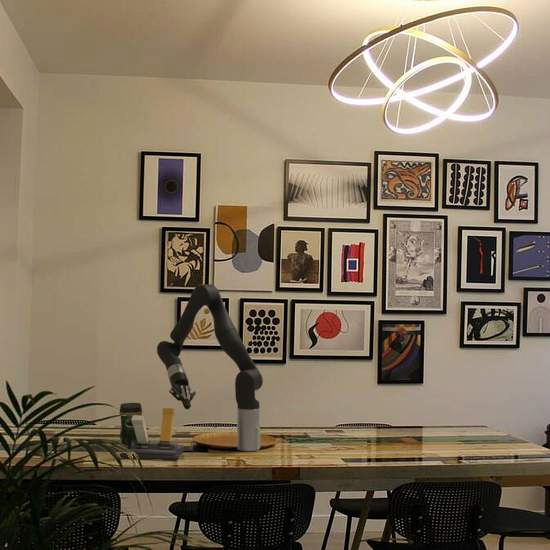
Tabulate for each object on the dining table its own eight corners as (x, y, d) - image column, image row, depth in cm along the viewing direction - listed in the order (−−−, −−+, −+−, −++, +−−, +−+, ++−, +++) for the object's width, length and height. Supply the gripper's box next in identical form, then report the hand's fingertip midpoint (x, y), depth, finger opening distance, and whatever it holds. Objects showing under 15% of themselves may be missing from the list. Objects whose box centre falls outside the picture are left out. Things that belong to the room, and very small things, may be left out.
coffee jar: (141, 444, 334) (141, 401, 334) (142, 448, 326) (143, 403, 327) (118, 445, 332) (119, 401, 332) (119, 449, 324) (119, 404, 324)
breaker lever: (171, 447, 314) (174, 409, 319) (169, 446, 311) (173, 408, 317) (160, 447, 315) (164, 409, 320) (158, 446, 312) (162, 408, 318)
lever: (150, 442, 316) (143, 415, 308) (148, 447, 314) (142, 420, 305) (139, 442, 317) (133, 415, 308) (138, 447, 315) (131, 419, 306)
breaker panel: (183, 452, 318) (183, 440, 318) (175, 458, 307) (175, 446, 307) (136, 450, 321) (136, 438, 321) (126, 456, 310) (127, 444, 310)
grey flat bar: (179, 459, 305) (179, 450, 305) (178, 461, 303) (178, 451, 303) (120, 457, 308) (120, 448, 308) (118, 458, 306) (118, 449, 306)
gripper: (169, 368, 329) (179, 399, 317) (194, 374, 337) (205, 404, 325) (160, 380, 332) (170, 411, 320) (185, 385, 340) (196, 416, 328)
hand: (188, 408), depth 322 cm, fingers closed
